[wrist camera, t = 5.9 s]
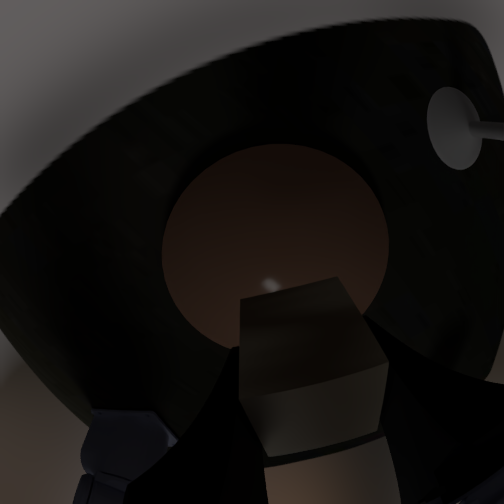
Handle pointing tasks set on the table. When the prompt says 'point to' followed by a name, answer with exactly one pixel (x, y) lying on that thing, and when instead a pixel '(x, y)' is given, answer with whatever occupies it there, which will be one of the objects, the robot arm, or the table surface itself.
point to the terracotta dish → (270, 234)
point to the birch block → (309, 368)
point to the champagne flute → (458, 128)
